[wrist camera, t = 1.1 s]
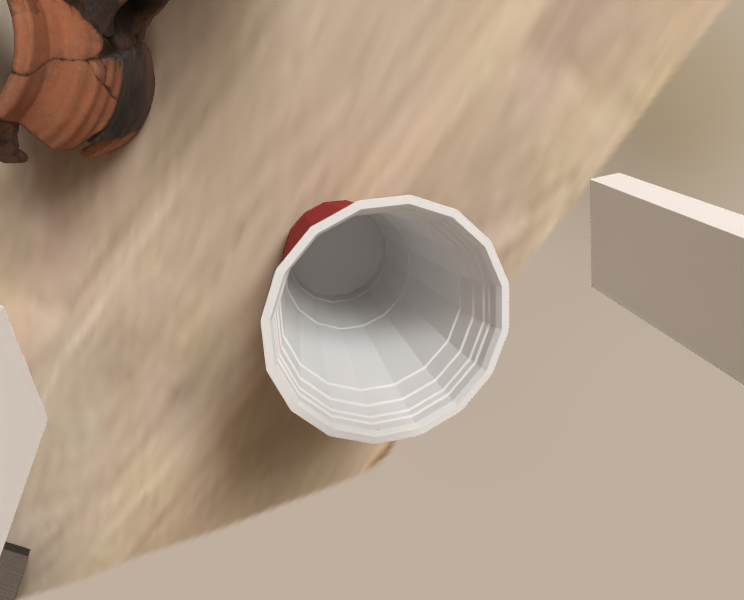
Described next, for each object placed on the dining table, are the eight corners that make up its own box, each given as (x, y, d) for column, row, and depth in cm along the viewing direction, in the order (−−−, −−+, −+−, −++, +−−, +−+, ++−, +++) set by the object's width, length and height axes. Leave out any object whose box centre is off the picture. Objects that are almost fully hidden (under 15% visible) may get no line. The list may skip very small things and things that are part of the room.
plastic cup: (463, 207, 40) (565, 273, 29) (369, 361, 42) (431, 476, 31) (300, 111, 36) (348, 146, 25) (205, 287, 38) (211, 389, 27)
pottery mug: (81, 204, 36) (-53, 207, 28) (-21, 53, 36) (-183, 14, 28) (254, 51, 32) (157, 6, 24) (140, -114, 32) (6, -213, 24)
